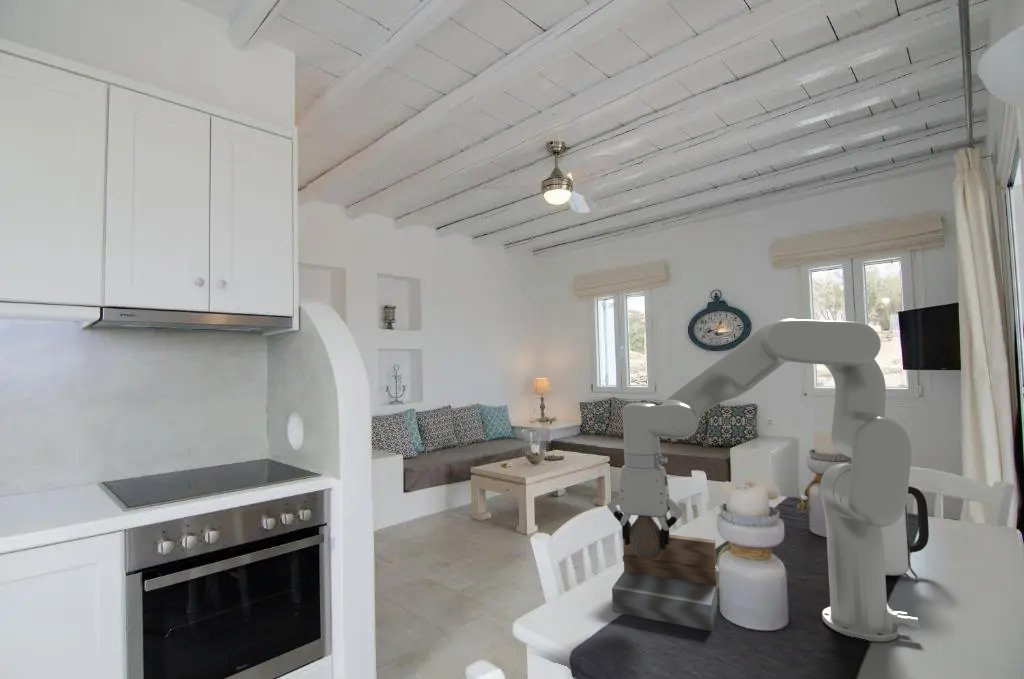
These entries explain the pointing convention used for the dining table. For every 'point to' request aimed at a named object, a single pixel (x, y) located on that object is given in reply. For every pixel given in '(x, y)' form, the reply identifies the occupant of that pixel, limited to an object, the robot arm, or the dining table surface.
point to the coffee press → (904, 538)
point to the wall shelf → (671, 584)
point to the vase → (645, 538)
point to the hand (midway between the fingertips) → (645, 544)
